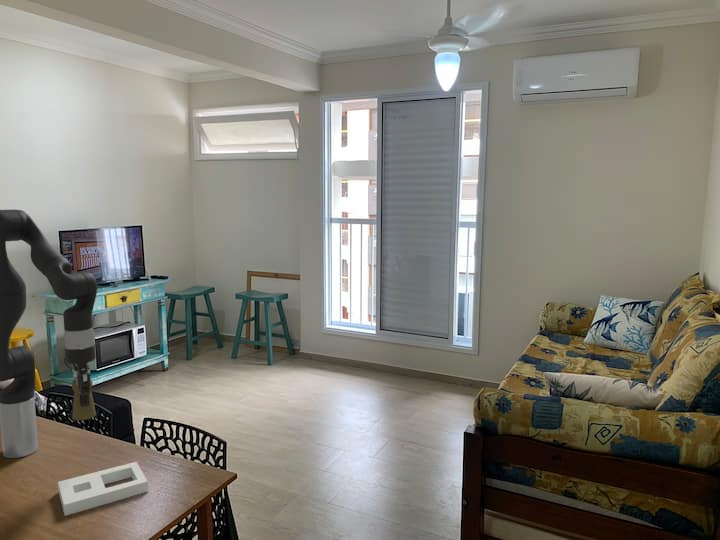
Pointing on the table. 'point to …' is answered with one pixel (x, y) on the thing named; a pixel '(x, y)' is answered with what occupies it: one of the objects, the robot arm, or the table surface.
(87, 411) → the olive knobbed peg
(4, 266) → the robot arm
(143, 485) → the socket board
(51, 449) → the table surface
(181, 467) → the table surface
